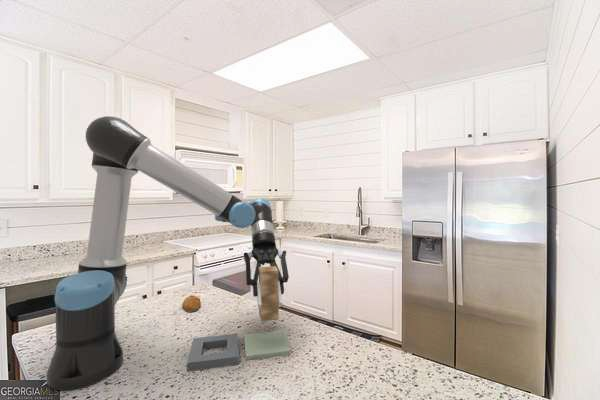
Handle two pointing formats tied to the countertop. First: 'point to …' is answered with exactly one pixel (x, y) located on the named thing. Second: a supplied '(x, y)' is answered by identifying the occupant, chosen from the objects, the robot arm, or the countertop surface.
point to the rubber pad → (265, 345)
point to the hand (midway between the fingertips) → (270, 305)
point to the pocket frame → (214, 359)
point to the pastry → (191, 303)
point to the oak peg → (268, 293)
